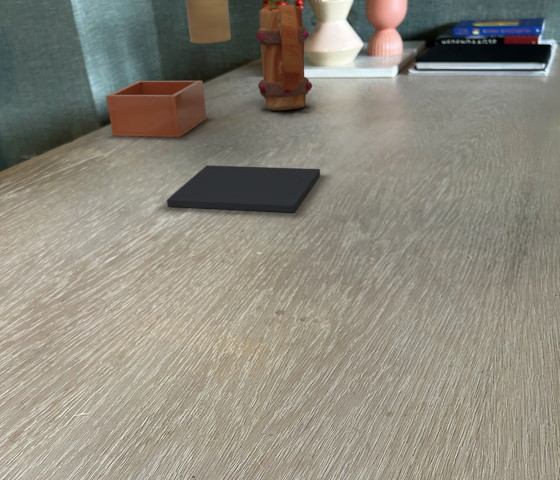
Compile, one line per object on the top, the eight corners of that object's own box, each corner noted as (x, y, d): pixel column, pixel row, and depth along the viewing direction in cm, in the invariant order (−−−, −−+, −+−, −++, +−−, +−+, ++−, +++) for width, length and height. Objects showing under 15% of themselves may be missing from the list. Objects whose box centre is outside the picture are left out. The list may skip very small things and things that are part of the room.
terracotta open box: (113, 135, 98) (105, 96, 95) (144, 117, 106) (138, 80, 103) (180, 137, 95) (174, 96, 92) (206, 118, 103) (202, 80, 100)
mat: (167, 206, 72) (166, 199, 71) (207, 171, 81) (206, 165, 81) (294, 213, 68) (293, 205, 68) (320, 175, 78) (320, 168, 77)
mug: (257, 103, 110) (250, -1, 102) (306, 99, 111) (303, -4, 102) (265, 125, 98) (258, 9, 90) (320, 121, 98) (318, 5, 90)
